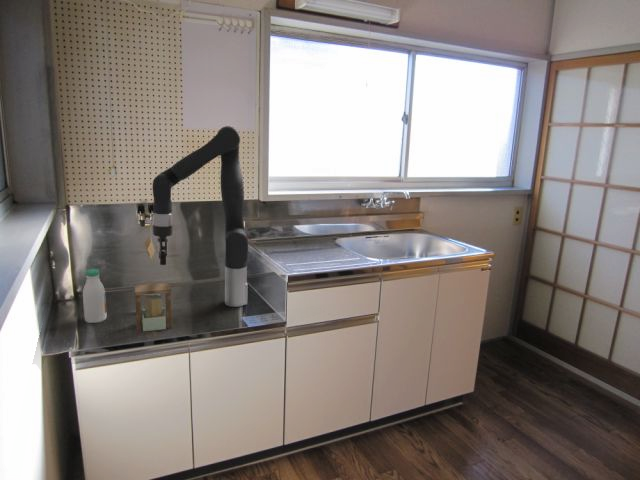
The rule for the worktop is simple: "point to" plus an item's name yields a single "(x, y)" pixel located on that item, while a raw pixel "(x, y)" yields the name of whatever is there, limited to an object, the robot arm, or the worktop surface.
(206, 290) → the worktop surface
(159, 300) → the skincare box
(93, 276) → the milk bottle
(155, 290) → the tunnel
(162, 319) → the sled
